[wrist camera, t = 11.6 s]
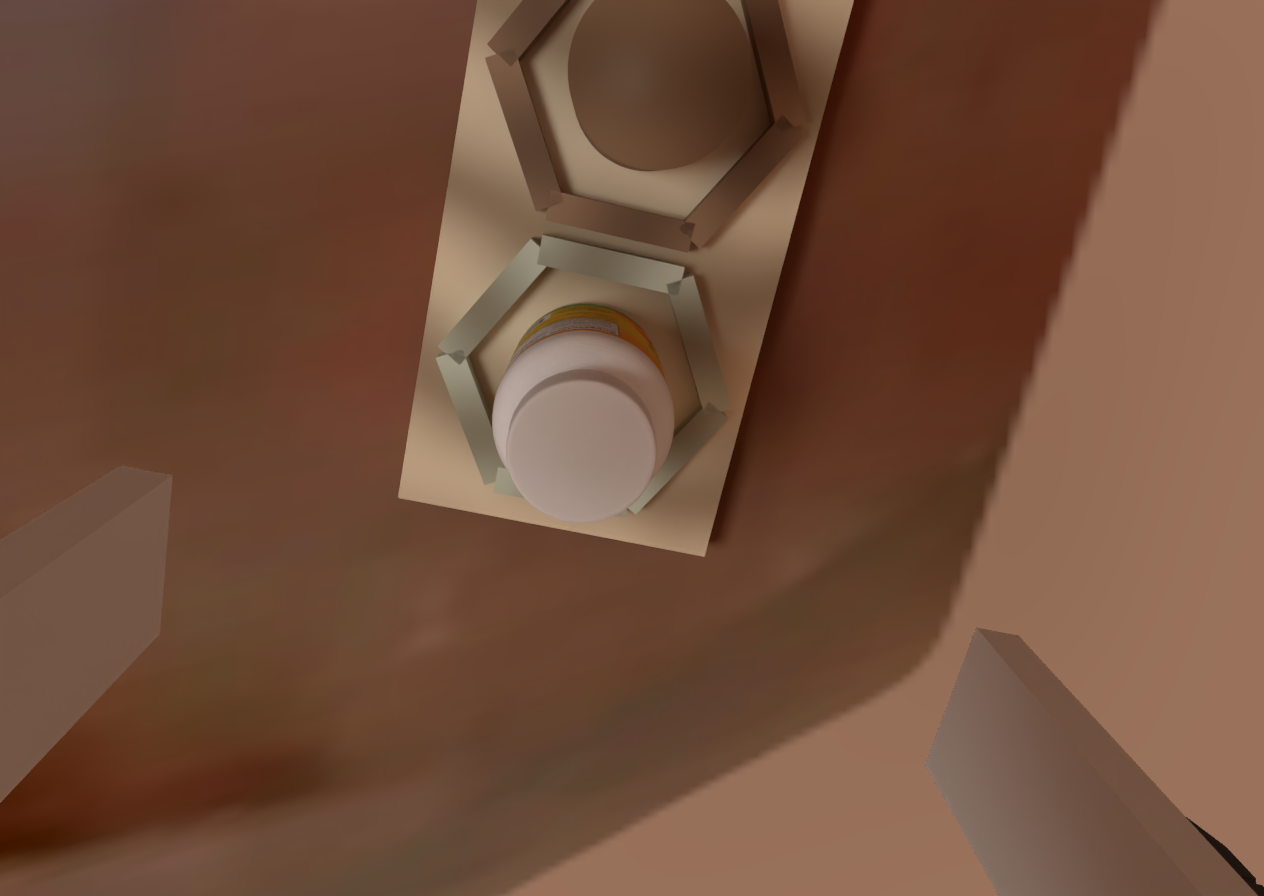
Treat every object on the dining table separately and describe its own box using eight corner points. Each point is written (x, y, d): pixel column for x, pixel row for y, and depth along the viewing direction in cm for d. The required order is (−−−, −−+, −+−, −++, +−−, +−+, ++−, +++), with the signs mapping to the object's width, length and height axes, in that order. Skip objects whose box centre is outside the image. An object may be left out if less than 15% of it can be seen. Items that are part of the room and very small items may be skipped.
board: (506, -140, 29) (499, -166, 27) (855, -45, 30) (876, -63, 28) (405, 484, 35) (393, 505, 33) (700, 541, 36) (707, 565, 34)
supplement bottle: (662, 440, 33) (688, 543, 24) (519, 448, 33) (488, 555, 24) (656, 296, 32) (681, 347, 22) (505, 304, 32) (468, 358, 22)
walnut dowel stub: (589, -6, 29) (588, -52, 23) (737, 32, 29) (773, -3, 24) (559, 152, 30) (551, 146, 24) (701, 186, 31) (726, 188, 25)
